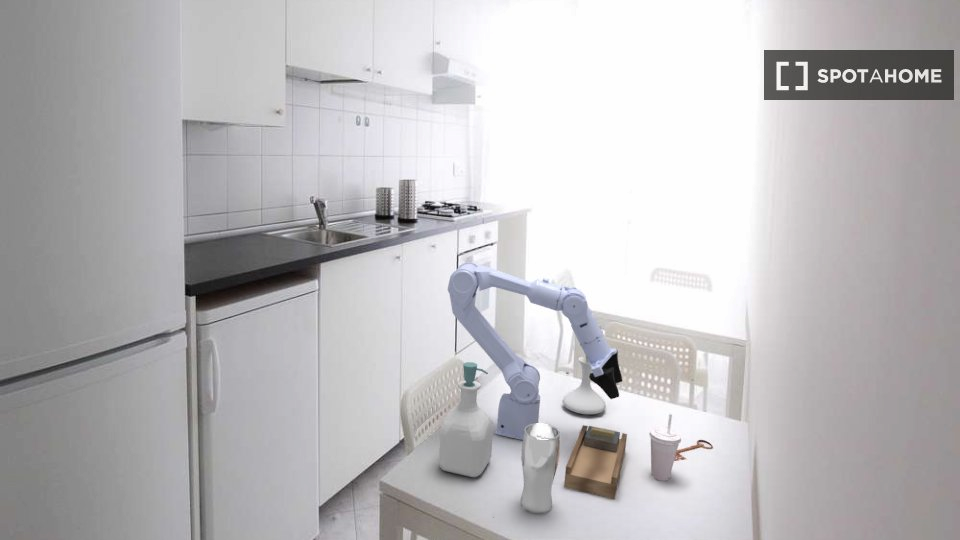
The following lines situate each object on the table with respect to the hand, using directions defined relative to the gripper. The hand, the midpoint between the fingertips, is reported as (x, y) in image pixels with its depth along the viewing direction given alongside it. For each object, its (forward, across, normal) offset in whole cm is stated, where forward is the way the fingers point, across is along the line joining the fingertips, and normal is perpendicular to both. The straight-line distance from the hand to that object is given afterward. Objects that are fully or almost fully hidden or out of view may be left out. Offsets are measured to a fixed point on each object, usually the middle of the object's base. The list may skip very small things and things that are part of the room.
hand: (616, 389), depth 131 cm
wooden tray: (+9, -15, +7) cm, 19 cm away
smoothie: (+16, -12, -4) cm, 21 cm away
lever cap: (+7, -8, +6) cm, 13 cm away
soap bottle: (-4, -25, +30) cm, 39 cm away
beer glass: (+3, -32, +15) cm, 36 cm away
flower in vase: (+9, +15, +15) cm, 23 cm away
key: (+21, +2, -8) cm, 23 cm away
